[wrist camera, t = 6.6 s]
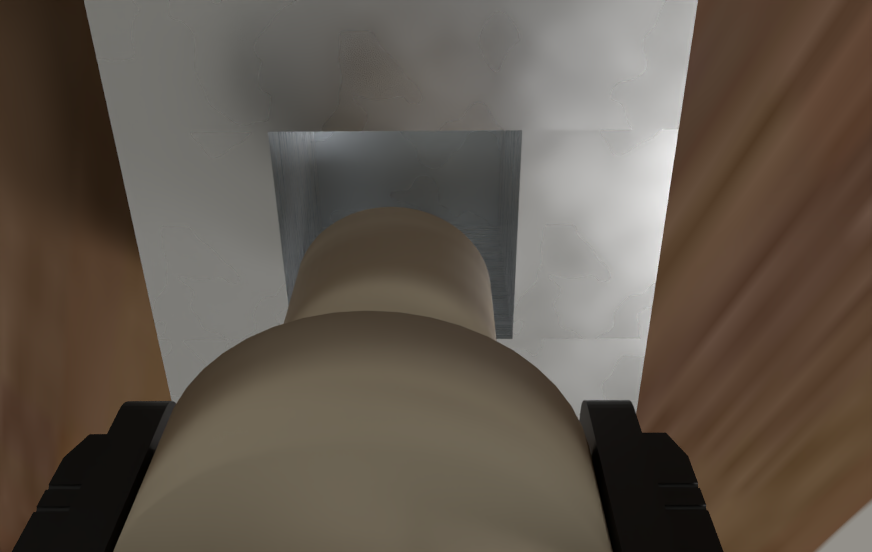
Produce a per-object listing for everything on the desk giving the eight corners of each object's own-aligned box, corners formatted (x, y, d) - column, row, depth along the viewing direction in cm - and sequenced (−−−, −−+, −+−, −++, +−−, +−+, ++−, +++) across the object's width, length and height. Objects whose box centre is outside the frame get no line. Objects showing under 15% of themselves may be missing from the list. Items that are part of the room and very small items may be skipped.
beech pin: (216, 150, 16) (40, 444, 9) (559, 147, 15) (657, 441, 9) (257, 414, 19) (153, 781, 12) (540, 413, 19) (600, 779, 12)
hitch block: (115, -214, 20) (-20, -211, 14) (685, -219, 20) (788, -218, 14) (219, 371, 30) (163, 521, 24) (611, 369, 30) (655, 520, 24)
